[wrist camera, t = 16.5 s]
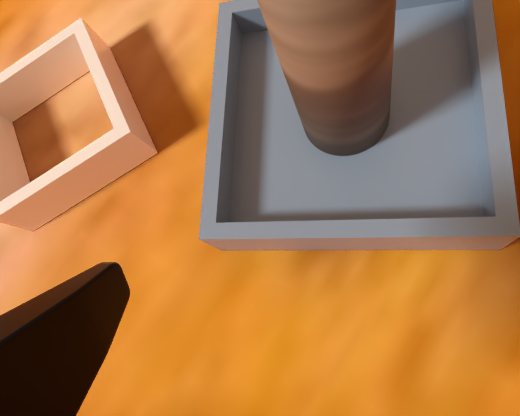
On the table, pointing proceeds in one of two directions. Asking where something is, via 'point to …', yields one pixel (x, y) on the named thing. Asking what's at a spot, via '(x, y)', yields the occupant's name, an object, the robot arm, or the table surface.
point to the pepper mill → (336, 67)
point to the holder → (87, 159)
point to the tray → (372, 160)
